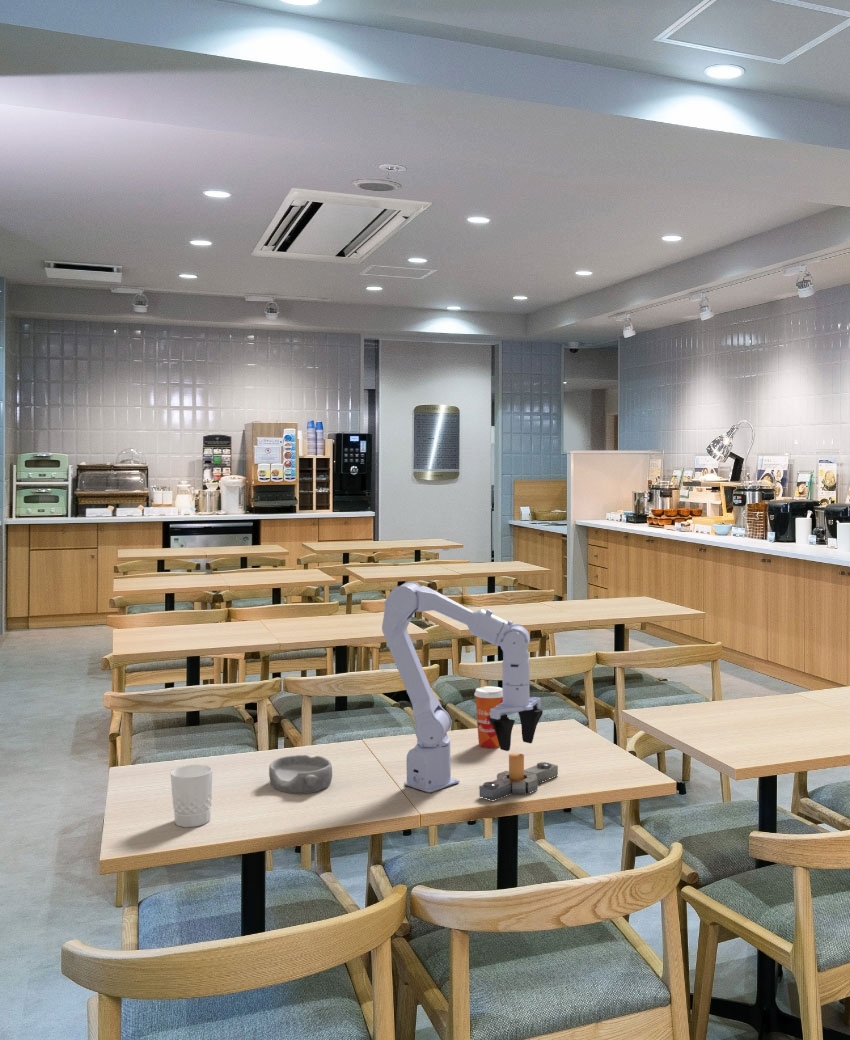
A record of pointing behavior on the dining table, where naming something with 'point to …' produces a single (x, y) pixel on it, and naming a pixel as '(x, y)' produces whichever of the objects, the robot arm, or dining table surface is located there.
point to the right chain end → (532, 775)
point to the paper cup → (487, 714)
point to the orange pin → (516, 766)
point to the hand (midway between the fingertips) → (516, 746)
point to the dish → (300, 774)
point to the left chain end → (501, 789)
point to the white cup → (191, 794)
